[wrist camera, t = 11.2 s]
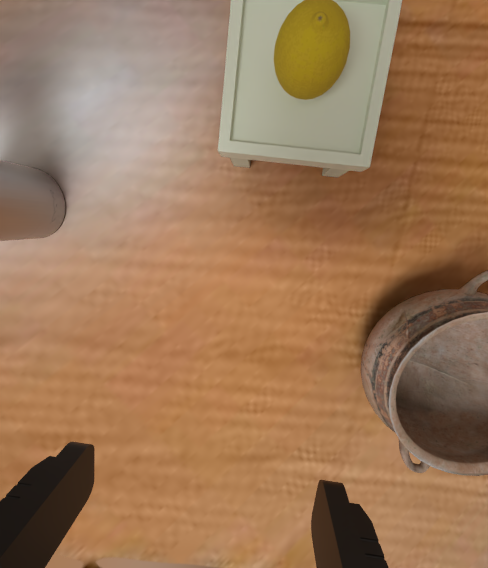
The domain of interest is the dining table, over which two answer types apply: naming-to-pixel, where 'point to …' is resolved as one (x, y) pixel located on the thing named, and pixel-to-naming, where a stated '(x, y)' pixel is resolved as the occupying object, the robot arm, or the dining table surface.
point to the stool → (297, 112)
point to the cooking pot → (434, 378)
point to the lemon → (312, 48)
